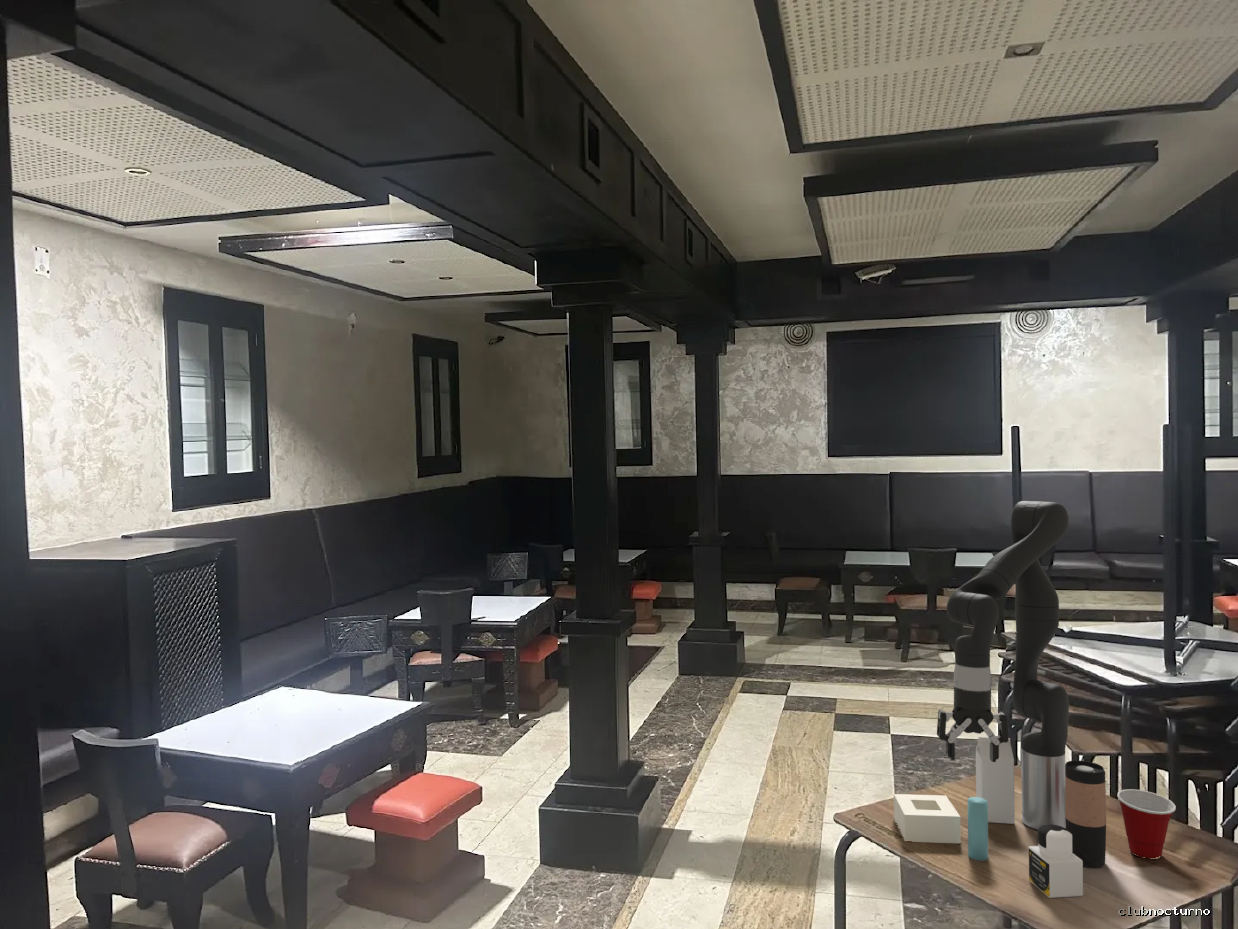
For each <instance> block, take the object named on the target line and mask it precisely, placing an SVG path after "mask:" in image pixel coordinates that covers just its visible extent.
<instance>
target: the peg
mask: <svg viewBox="0 0 1238 929" xmlns="http://www.w3.org/2000/svg"><path fill="white" fill-rule="evenodd" d="M967 855H968V857H969V858H970V859H972V860H973V861H974V860H976V861H981V862H983V861H987V860H989V822H988V801H987V800H985V799H983V798H979V797H976V796H970V797H968V798H967Z"/></svg>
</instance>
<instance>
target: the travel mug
mask: <svg viewBox="0 0 1238 929" xmlns="http://www.w3.org/2000/svg"><path fill="white" fill-rule="evenodd" d="M1106 790H1107V789H1106V770H1105V768H1104V766H1102V765H1101V764H1099V763H1095V762H1092V761H1088V760H1076V759H1075V760H1069V761H1065V822H1066V829H1067V830H1069V831H1070V832H1071V834H1072V853H1073V854H1074V855H1076V856H1077V857H1078V858H1080V859H1081V860H1082V861H1083V868H1089V869H1099V868H1103V867H1104V866H1105V865H1106V855H1107V854H1106V852H1107V850H1106V848H1107V847H1106V846H1107V844H1106V843H1107V804H1106V803H1107V799H1106V798H1107V796H1106V794H1107V792H1106Z"/></svg>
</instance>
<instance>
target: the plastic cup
mask: <svg viewBox="0 0 1238 929" xmlns="http://www.w3.org/2000/svg"><path fill="white" fill-rule="evenodd" d="M1116 797H1117V799H1118V801H1119V803H1120V808H1121V812H1122V817H1123V823H1124V828H1125V835H1126V837H1127V843H1128V848H1129V852H1130V853H1131V852H1132V853H1134V854H1136V855H1138V856H1140V857H1145V858H1156V857H1159V856H1161V857H1162V856H1163V850H1164V845H1165V842H1166V836H1167V833H1168V827H1169V823H1170V821H1171V817H1172V815H1173V813H1174V812H1175V811H1176V809H1177V808H1176V805H1175V803H1174V802H1173V801H1172V800H1170V799H1169V798H1167V797H1165V796H1163V795H1160V794H1158V793H1154V792H1151V791H1147V790H1144V789H1143V790H1142V789H1134V788H1132V789H1131V788H1130V789H1121V790H1120V791H1118V792H1117V796H1116ZM1132 853H1131V854H1132ZM1134 854H1133V855H1134ZM1138 856H1137V857H1138ZM1140 857H1139V858H1140Z"/></svg>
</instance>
